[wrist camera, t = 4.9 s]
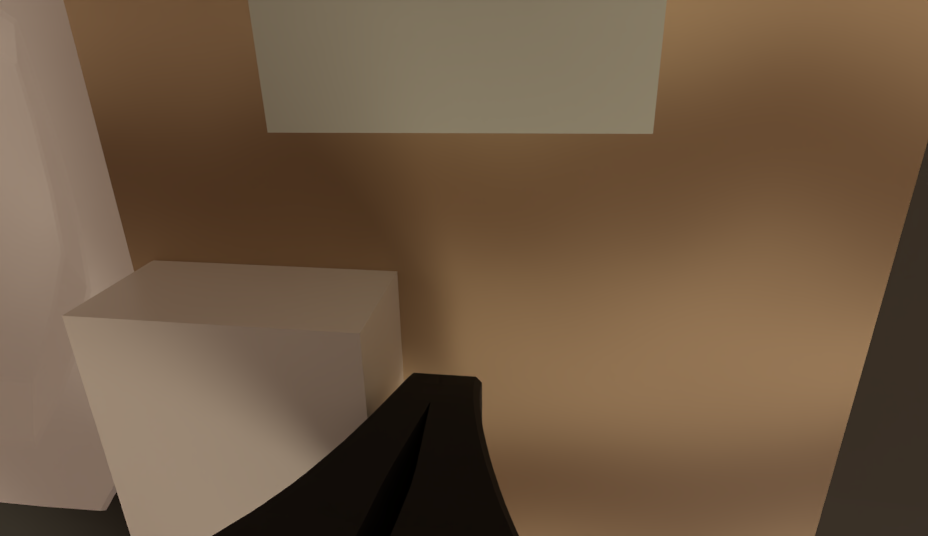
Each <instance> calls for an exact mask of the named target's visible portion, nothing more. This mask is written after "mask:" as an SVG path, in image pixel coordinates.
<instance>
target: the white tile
mask: <svg viewBox="0 0 928 536" xmlns="http://www.w3.org/2000/svg"><path fill="white" fill-rule="evenodd" d="M62 318H63V321H64V324H65V327H66V330H67V334H68V337H69V340H70V343H71V347H72V350H73V353H74V356H75V359H76V363H77V366H78V369H79V372H80V375H81V379H82V382H83V385H84V388H85V391H86V395H87V398H88V401H89V404H90V407H91V411H92V414H93V417H94V420H95V423H96V427H97V430H98V433H99V436H100V439H101V443H102V446H103V449H104V452H105V455H106V459H107V462H108V465H109V468H110V471H111V475H112V478H113V481H114V484H115V487H116V491H117V494H118V497H119V500H120V503H121V507H122V510H123V513H124V516H125V520H126V523H127V526H128V529H129V532H130V536H212V535H214V534H216V533H217V532H219V531H221V530H222V529H224V528H226V527H227V526H229V525H230V524H232V523H234V522H235V521H237V520H239V519H240V518H242V517H244V516H245V515H247V514H249V513H250V512H252V511H253V510H255V509H256V508H258V507H259V506H261V505H262V504H264V503H265V502H267V501H268V500H270V499H271V498H272V497H274V496H275V495H277V494H278V493H280V492H281V491H282V490H284V489H285V488H287V487H288V486H290V485H291V484H292V483H294V482H295V481H296V480H297V479H299V478H300V477H301V476H302V475H304V474H305V473H306V472H308V471H309V470H310V469H311V468H312V467H314V466H315V465H316V464H317V463H318V462H319V461H321V460H322V459H323V458H324V457H325V456H327V455H328V454H329V453H330V452H331V451H332V450H334V449H335V448H336V447H337V446H338V445H339V444H341V443H342V442H343V441H344V440H345V439H346V438H347V437H348V436H349V435H350V434H351V433H353V432H354V431H355V430H356V429H357V428H358V427H359V426H360V425H361V424H362V423H363V422H364V421H365V420H366V419H367V418H368V417H369V416H370V415H371V414H372V413H374V412H375V410H376V409H377V408H378V407H379V406H380V405H381V404H382V403H383V402H384V401H385V400H386V399H387V398H388V397H389V396H390V395H391V394H392V393H393V392H394V391H395V390H396V389H397V388H398V387H399V386H400V385H401V384H402V383H403V382H404V376H403V359H402V342H401V325H400V308H399V291H398V274H397V271H380V270H358V269H336V268H313V267H291V266H269V265H247V264H225V263H203V262H180V261H158V260H153V261H151V262H149V263H148V264H146V265H145V266H143V267H141V268H140V269H138V270H136V271H135V272H133V273H131V274H130V275H128V276H126V277H125V278H123V279H121V280H120V281H118V282H117V283H115V284H113V285H112V286H110V287H108V288H107V289H105V290H103V291H102V292H100V293H98V294H97V295H95V296H94V297H92V298H90V299H89V300H87V301H85V302H84V303H82V304H80V305H79V306H77V307H75V308H74V309H72V310H70V311H69V312H67V313H66V314H64V315H62Z"/></svg>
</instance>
